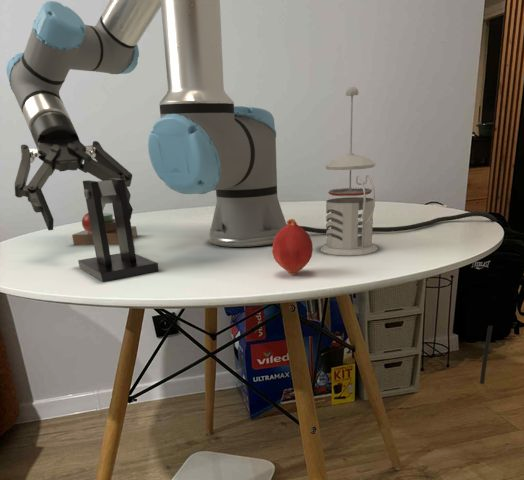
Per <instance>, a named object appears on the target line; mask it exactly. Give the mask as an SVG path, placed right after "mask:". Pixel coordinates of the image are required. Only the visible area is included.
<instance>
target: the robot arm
mask: <svg viewBox="0 0 524 480" xmlns="http://www.w3.org/2000/svg"><path fill="white" fill-rule="evenodd" d="M160 9H161V21H162V22H161V23H162V33H163V46H164V56H165V57H164V58H165V70H166V79H167V80H166V81H167V92H166V93H165V95H164V96H163V98H161V100H160V101H159V105H158V106H159V114H160V115H159V117H160V118H159V119H158V120H157V121H155V122H154V123H153V126H152V130H151V131H149V135H148V142H147V148H148V149H147V150H148V156H149V160H150V163H151V165H152V168H153V170H154V172H155V174H156V175H157V176H158V178H159V179H160V180H161V181H163V183H164V184H165V185H166V186H167V187H168V188H169V189H171V190H172V191H173V192H176V193H179V194H182V195H196V194H197V195H205V194H208V193H211V192H214V191H215V195H216V203H215V206H214V207H215V208H214V212H213V217H212V221H211V226H210V232H209V236H210V238H209V239H210V243H211V244H213V245H215V246H219V247H228V248H250V247H253V248H254V247H262V246H263V247H264V246H270V245H273V241H274V239H275V237H276V235H277V233H278V232H279V231H280V230H281V229H282V228H284V227H285V226H286V225H287V221H286V219H285V215H284V213H283V210H282V207H281V204H280V201H279V198H278V173H277V169H278V168H277V130H276V126H275V118H274V116H273V114H272V113H271V112H270V111H268V110H267V109H264V108H260V107H252V106H251V107H250V106H249V107H248V106H244V105H243V106H238V105H237V106H235V101H234V100H233V99H232V98H231V97H230V96H229V95H228V94H227V93H226V91H225V88H224V65H223V63H224V62H223V42H222V41H223V40H222V19H221V15H222V14H221V0H109V1H108V3H107V5H106V6H105V9H104V10H103V12H102V14H101V15H100V16H99V19H98V20H97V23H96V24H95V25H88V24H85V22H84V20H83V19H82V18H81V16H79V15H78V13H76V11H74V10H73V9H72V8H71V7H69V6H65V5H63V3H61V2H58V1H53V0H48V1H46V2H44V3H43V4H42V5H41V7H40V10H39V12H37V15H36V17H35V19H34V20H33V24H32V29H31V30H30V31H31V32H30V35H29V38H28V40H27V43H26V46H25V49H24V52H19V53H16V54H15V55H14V56H13V57H12V58H10V59H9V60H8V61H7V65H6V75H7V79H8V82H9V86H10V90H11V91H12V93H13V95H14V98H15V99H16V102H17V104H18V106H19V109H20V111H21V113H22V115H23V117H24V120H25V122H26V124H27V127H28V129H29V132H30V133H31V136H32V139H33V142H34V144H35V146H36V148H30V147H29V145H27V144H21V145H20V156H21V159H20V163H19V166H18V170H17V174H16V177H15V180H14V196H15V197H17V198H23V197H26V198H27V202H29V203H30V205H31V207H32V209H33V211H34V212H35V213H36V214H37V213H41V215H42V218H43V220H44V223H45V225H46V228H47V231H53V230H54V217H53V214H52V212H51V209H50V208H49V205H48V202H47V199H46V198H45V195H44V193H43V191H42V188H44V186H45V185H46V183H47V181H48V179H49V178H50V177H51V176H52V175H53V174H54V172H55V171H59V172H66V171H78V170H79V171H81V172H83V173H85V174H87V173H88V174H90V175H92V176H94V177H95V178H97V179H99V181H107V180H108V179H110V178H118V179H124V182H125V189H126V195H127V202H128V209H129V215H130V220H131V219H132V215H133V206H132V204H131V202H130V200H131V192H130V190H129V187H131V185H132V180H133V173H131V172H130V171H129V170H128V169H126V167H125V166H124V165H122V164H121V163H120V162H119V161H118V160H116V159H115V158H114V157H112V155H111V154H109V153H108V152H107V151H106V150H104V148H103V146H102V145H101V144H100V142H99V141H97V140H94V141H92V144H91V145H84V144H83V143H82V142H81V140H80V138H79V135H78V133H77V131H76V128H75V126H74V124H73V122H72V120H71V117H70V115H69V112H68V111H67V108H66V106H65V104H64V102H63V100H62V98H61V96H60V90H61V89H62V86H63V84H64V83H65V81H66V78H67V76H68V74H69V72H70V70H72V71H73V70H74V71H85V72H96V73H105V74H110V75H126V74H130V73H132V72H133V71H134V70H135V69H136V68H137V66H138V64H139V62H138V61H139V58H140V51H139V46H138V43H139V41H141V39H142V37H143V36H144V34H145V32H146V31H147V29H148V28H149V27H150V25H151V23H152V22H153V20H154V19H155V17H156V15H157V14H158V13H159V11H160ZM36 158H38V159H39V160H41V161H42V164H41V165H40V167H39V168H38V170H36V172H35V174H34V175H33V177H32V178H31V180H30V181H29V182H28V178H29V175H30V171H31V164H33V163H34V162H35V160H36ZM27 182H28V184H27ZM470 217H482V218H486V219H488V220H489V221H490V222H493V223H499V220H498V219H497V218H496V216H494V215H492V214H490V213H489V212H485V211H469V212H463V213H458V214H454V215H447V216H441V217H440V216H439V217H436V218H433V219H430V220H427V221H426V220H425V221H422V222H418V223H413V224H408V225H399V226H372V229H371V230H372V233H392V232H405V231H411V230H416V229H420V228H424V227H428V226H432V225H435V224H438V223H441V222H442V223H443V222H449V221H450V222H451V221H455V220H460V219H465V218H470ZM299 226H300V227H301V228H303V229H304V230H305V231H306V232H307V233H308V232H309V233H313V234H326V232H327V230H328V229H326V228H317V227H311V226H306V225H305V226H304V225H299ZM361 228H362V226H358V229H361ZM493 327H494V325H487V331H486V336H485V344H484V349H483V356H482V364H481V370H480V379H479V380H480V381H479V384H481V385H484V384H485V379H486V372H487V364H488V358H489V352H490V346H491V340H492V332H493Z"/></svg>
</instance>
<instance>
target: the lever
mask: <svg viewBox="0 0 524 480" xmlns="http://www.w3.org/2000/svg"><path fill="white" fill-rule="evenodd" d="M97 182H98V186H99V192H100V198H101V204H102V209H103V210H105V207H106V205H107V204H112V203H113V201H114V199H115V197H116V192H115V189H114V186H113V183H112V180H107V181H102V180H98V181H97ZM81 225H82V228H83V229H84V230H86V231H87V232H89V233H91V234H92V230H91V225H90V219H89V214H88V212H87V213H85V214H84V215H83V216H82V219H81Z"/></svg>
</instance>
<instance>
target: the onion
mask: <svg viewBox="0 0 524 480" xmlns="http://www.w3.org/2000/svg"><path fill="white" fill-rule="evenodd" d="M297 223H298V222H297V221H296V219H294V218H289V219H288V220H287V221H286V224H287V225H286V226H285V227H284V228H282V229H281V230H280V231H279V232H278V233H277V235H276V237H275V239H274V241H273V244H272V249H271V252H272V253H271V254H272V256H273V259H274V261H275V263H277V264H278V266H280V268H282V269H284V270H285V271H286V272H287V273H288V274H289V275H293V276H294V275H297V274H298V273H299V272H300V271H301V270H303V269H304V268H305V267H306V266H307V265H308V264H309V262H310V260H311V259H312V256H313V250H314V248H313V247H314V246H313V241H312V238H311V237H310V235H309V233H308V232H307V231H305V230H304V229H303V228H301V227H300V226H301V225H298V224H297Z"/></svg>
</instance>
